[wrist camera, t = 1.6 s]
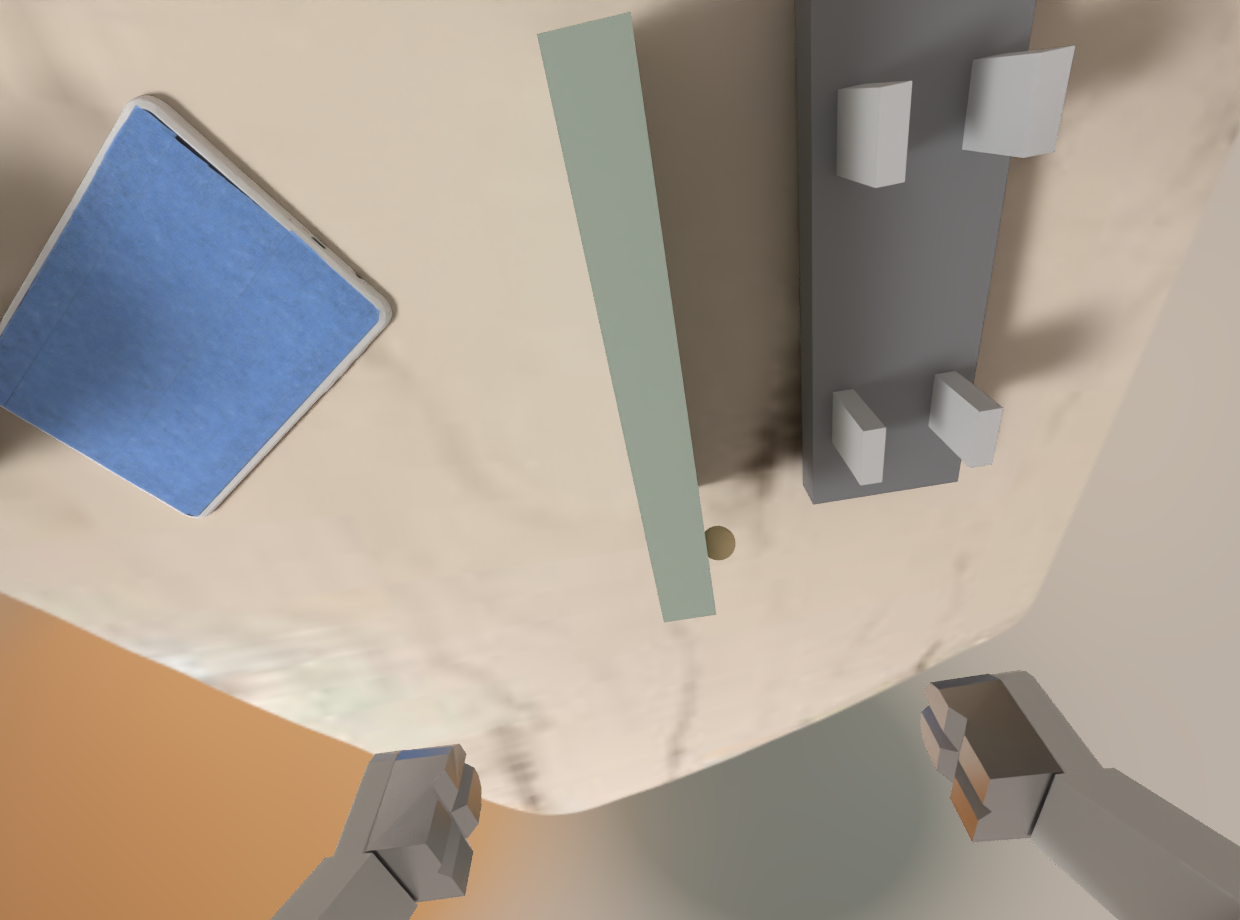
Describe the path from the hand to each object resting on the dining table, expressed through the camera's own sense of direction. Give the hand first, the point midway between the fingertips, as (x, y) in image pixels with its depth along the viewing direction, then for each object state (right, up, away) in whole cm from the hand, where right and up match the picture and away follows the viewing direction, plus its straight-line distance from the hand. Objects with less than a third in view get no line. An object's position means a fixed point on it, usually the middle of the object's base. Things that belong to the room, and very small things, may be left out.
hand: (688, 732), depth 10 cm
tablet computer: (-23, +11, +19) cm, 32 cm away
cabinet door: (0, +12, +19) cm, 22 cm away
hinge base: (+12, +14, +17) cm, 25 cm away
